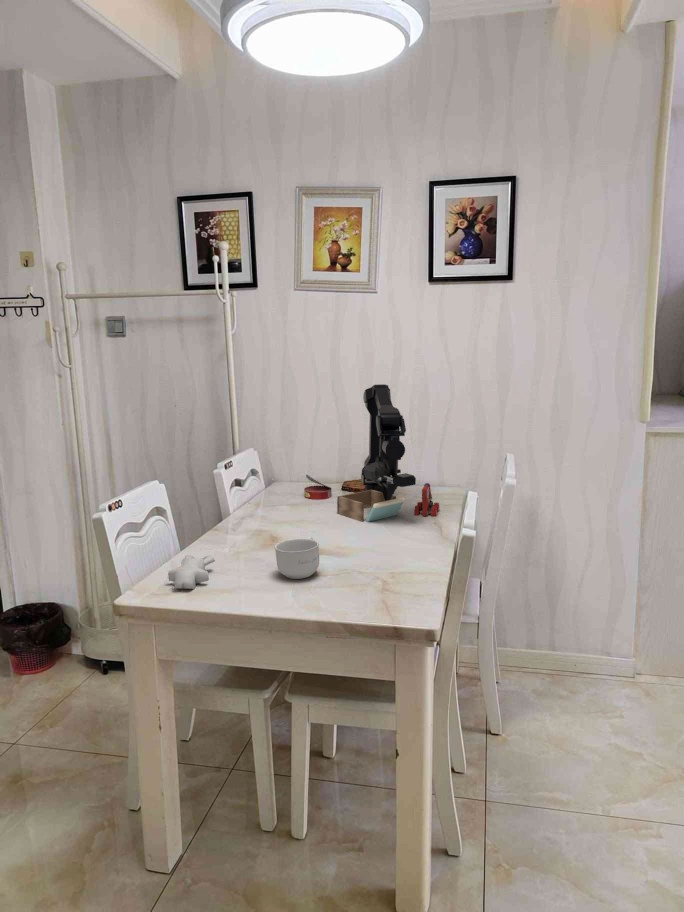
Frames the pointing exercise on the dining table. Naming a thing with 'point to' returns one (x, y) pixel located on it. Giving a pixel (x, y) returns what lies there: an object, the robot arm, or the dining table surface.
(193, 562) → the bunny figurine
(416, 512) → the toy fire truck
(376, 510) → the teal flat slab
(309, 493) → the canned food
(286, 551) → the teacup
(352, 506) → the crate
